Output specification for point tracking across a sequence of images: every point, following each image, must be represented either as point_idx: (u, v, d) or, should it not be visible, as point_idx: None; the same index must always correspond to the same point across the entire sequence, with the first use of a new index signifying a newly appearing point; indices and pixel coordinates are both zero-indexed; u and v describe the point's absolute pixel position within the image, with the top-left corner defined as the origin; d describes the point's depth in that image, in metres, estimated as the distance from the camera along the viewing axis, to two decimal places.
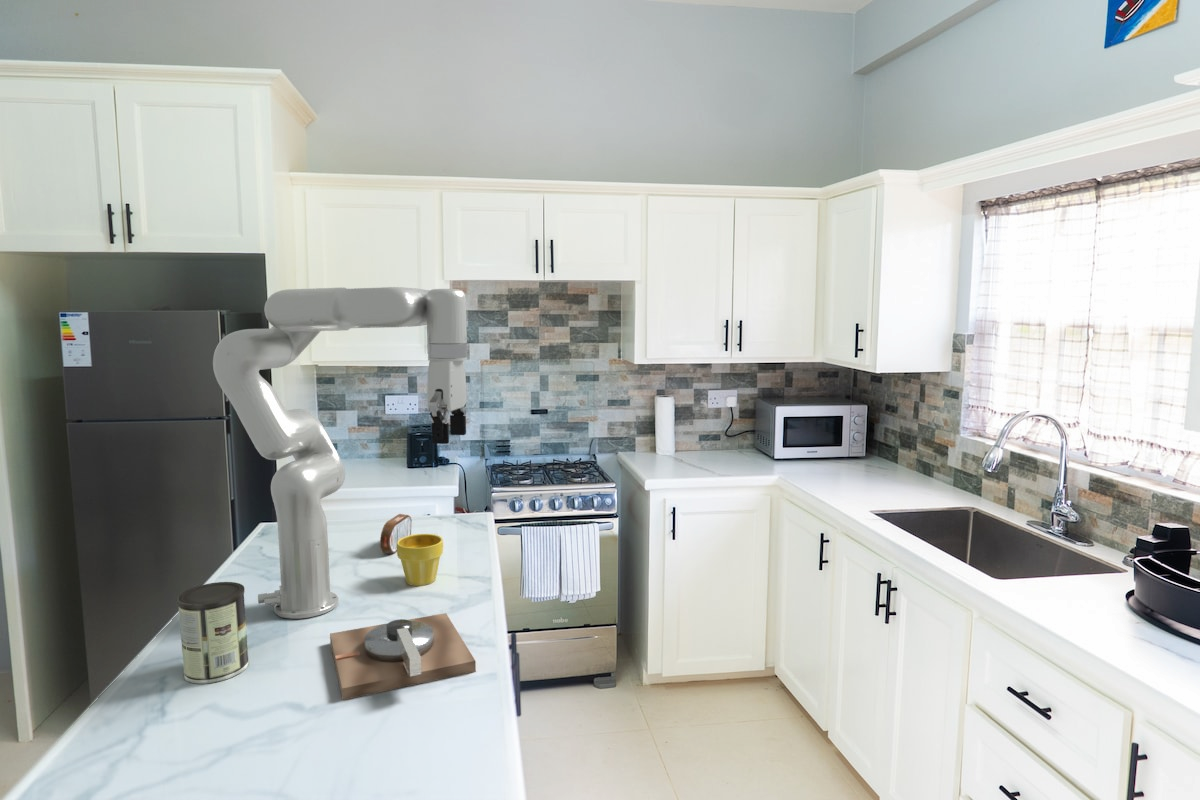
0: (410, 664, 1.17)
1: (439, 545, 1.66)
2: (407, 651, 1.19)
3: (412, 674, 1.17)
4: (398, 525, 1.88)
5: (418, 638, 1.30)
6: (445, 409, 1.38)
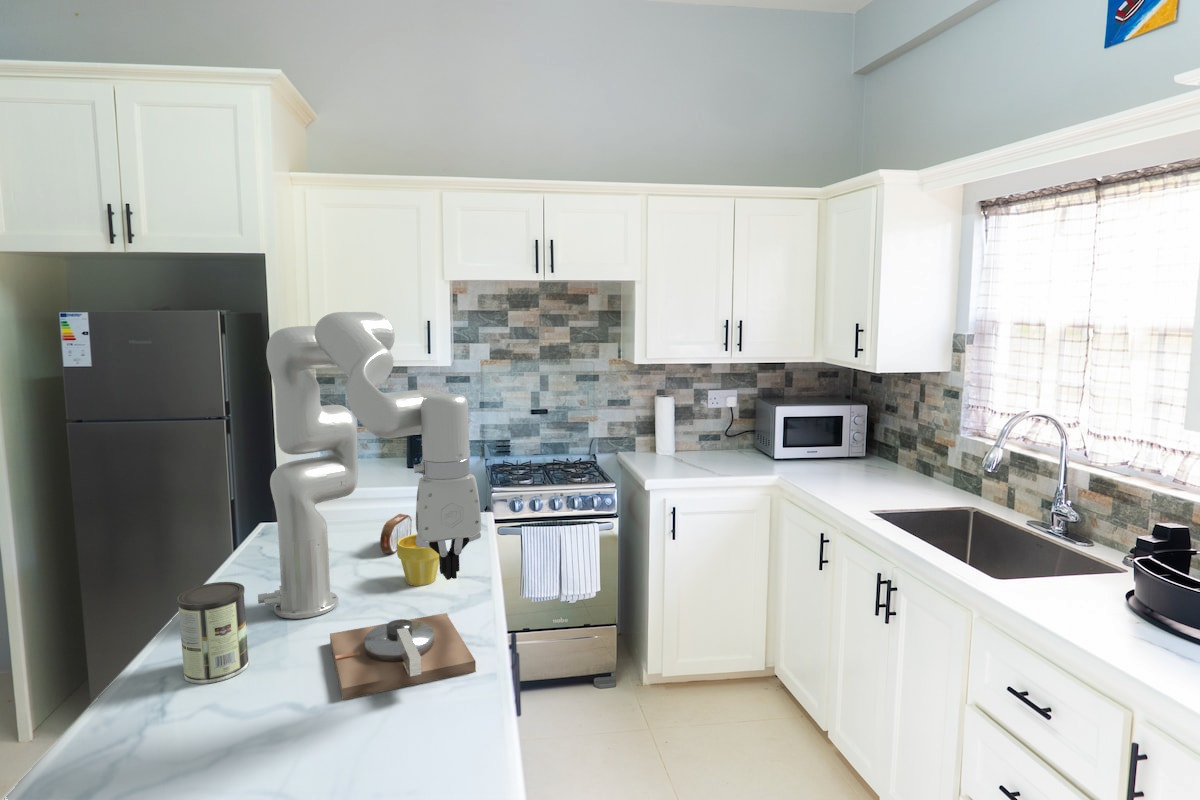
0: (410, 664, 1.17)
1: None
2: (407, 651, 1.19)
3: (412, 674, 1.17)
4: (398, 525, 1.88)
5: (418, 638, 1.30)
6: None
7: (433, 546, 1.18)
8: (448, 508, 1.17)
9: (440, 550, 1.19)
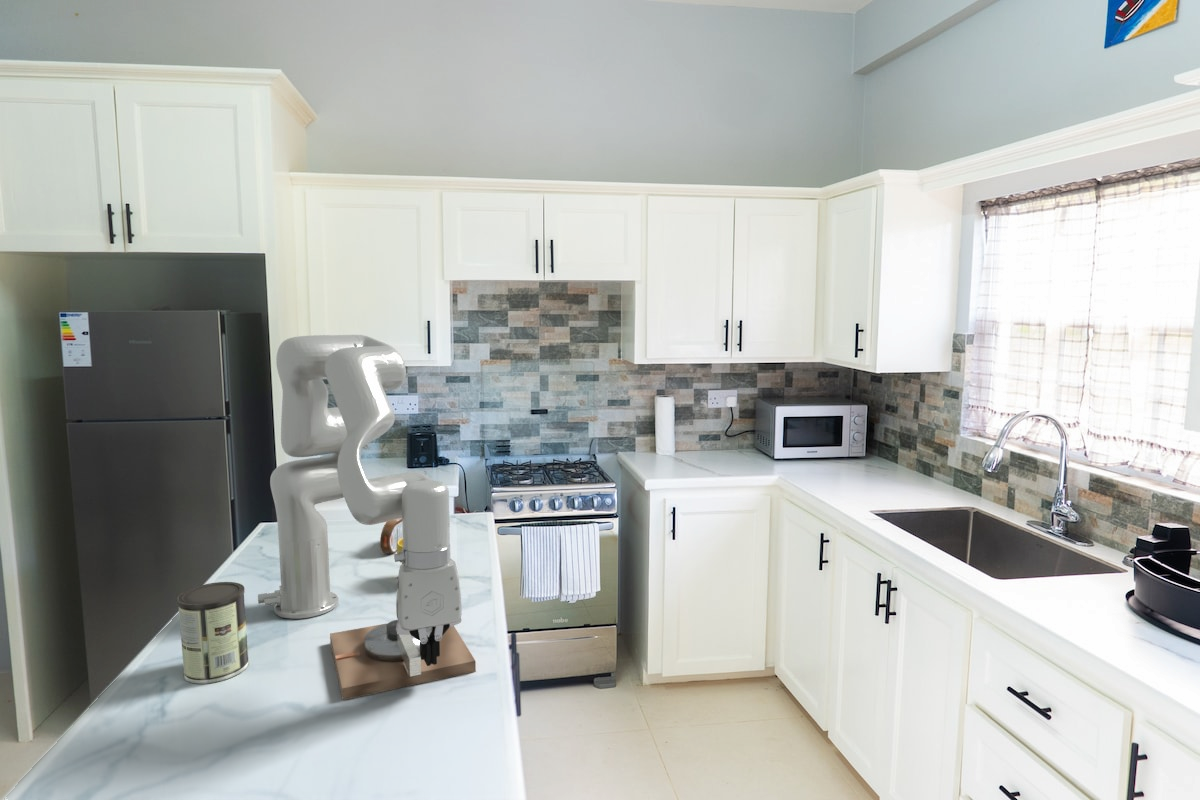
0: (410, 664, 1.17)
1: None
2: (407, 651, 1.19)
3: (412, 674, 1.17)
4: (398, 525, 1.88)
5: None
6: None
7: (413, 633, 1.19)
8: (428, 597, 1.17)
9: (420, 637, 1.19)
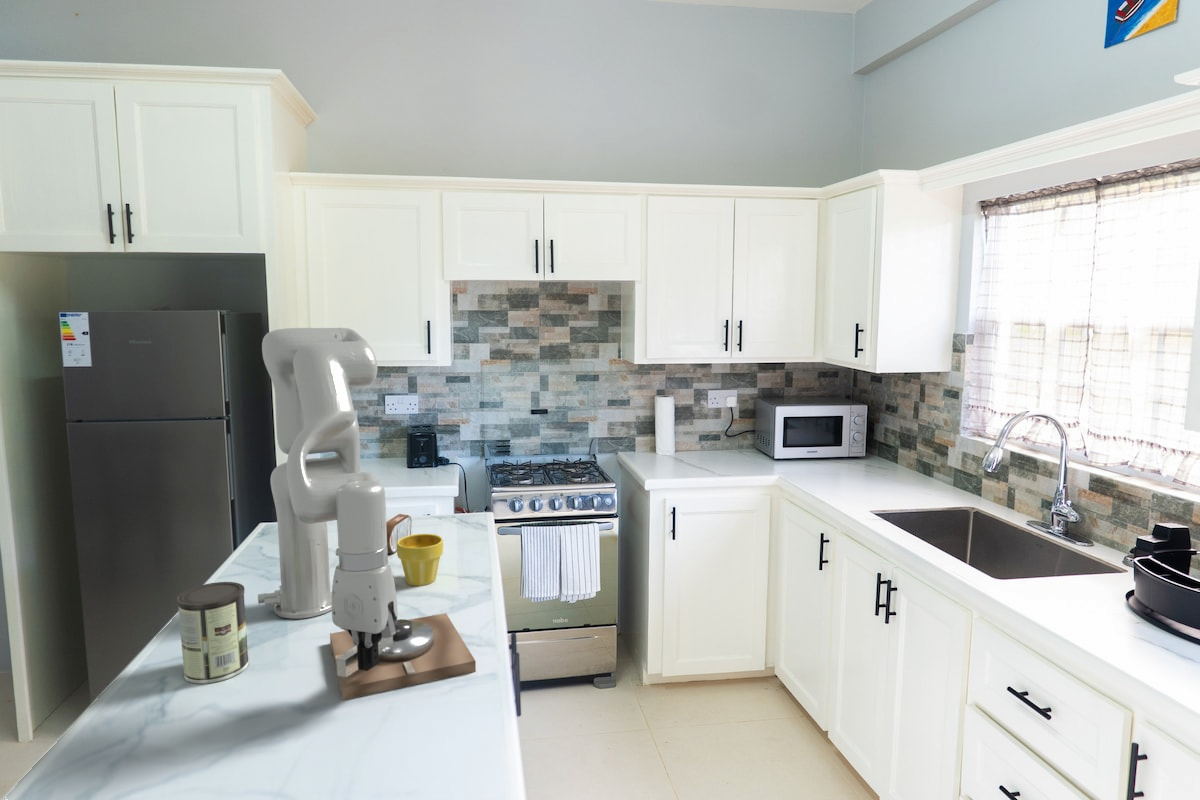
0: (337, 663, 1.17)
1: (439, 545, 1.66)
2: (349, 650, 1.20)
3: (339, 674, 1.17)
4: (398, 525, 1.88)
5: (403, 644, 1.27)
6: (394, 622, 1.17)
7: (349, 632, 1.18)
8: (350, 599, 1.15)
9: (353, 638, 1.18)
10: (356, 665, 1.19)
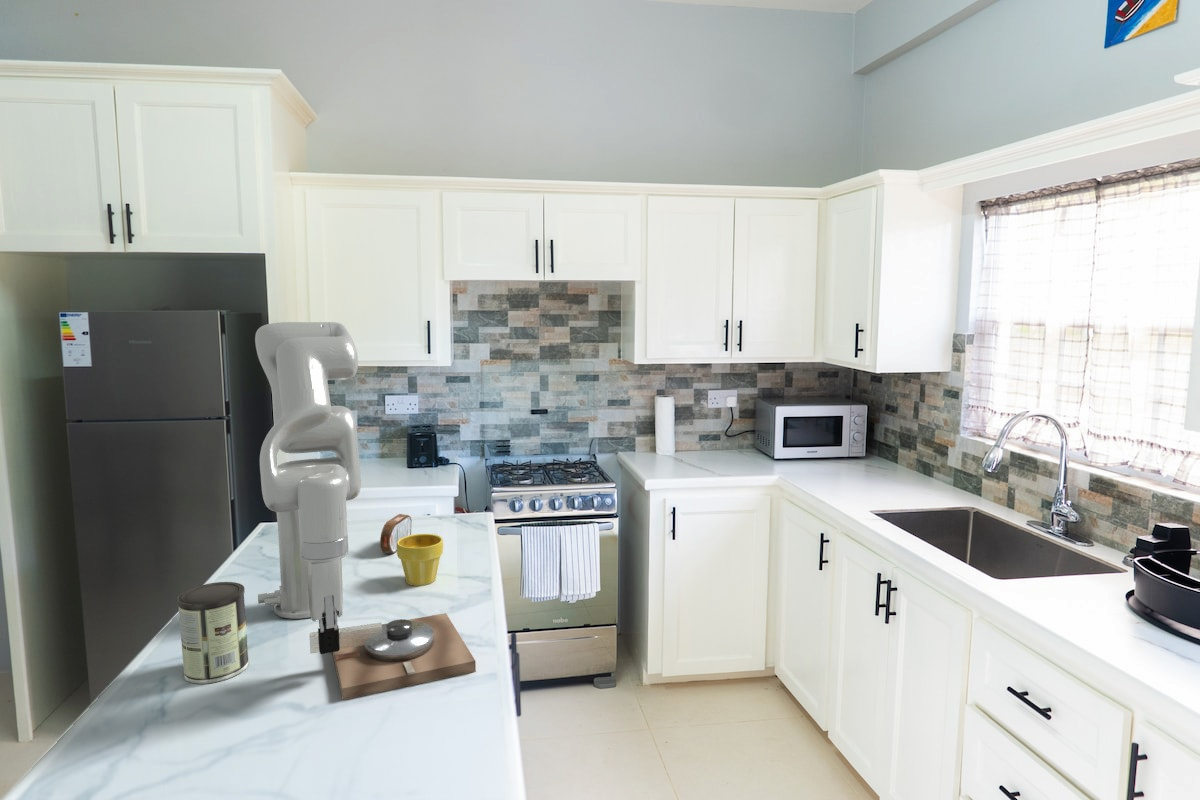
0: None
1: (439, 545, 1.66)
2: None
3: None
4: (398, 525, 1.88)
5: (384, 644, 1.27)
6: (336, 616, 1.19)
7: None
8: None
9: None
10: None
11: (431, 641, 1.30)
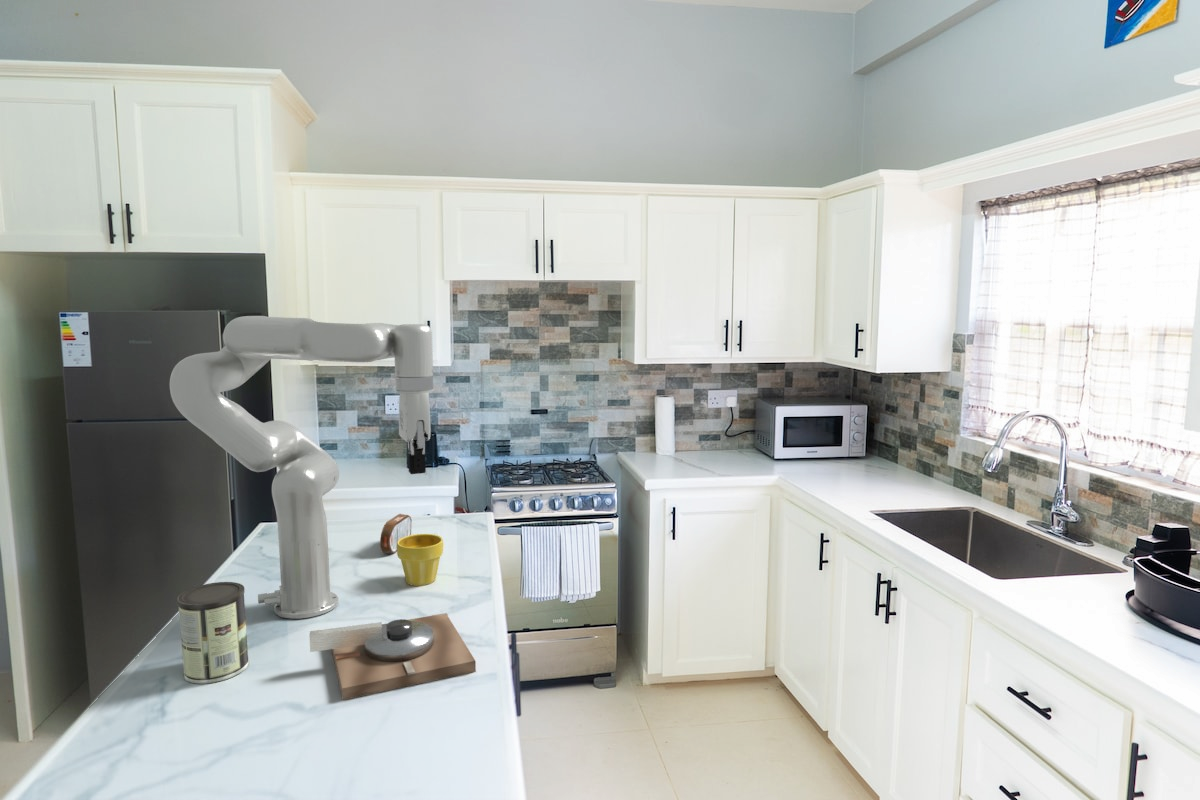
0: None
1: (439, 545, 1.66)
2: (326, 629, 1.28)
3: None
4: (398, 525, 1.88)
5: (383, 644, 1.27)
6: (425, 439, 1.45)
7: None
8: (401, 414, 1.48)
9: (408, 447, 1.50)
10: (325, 645, 1.26)
11: (430, 642, 1.30)
